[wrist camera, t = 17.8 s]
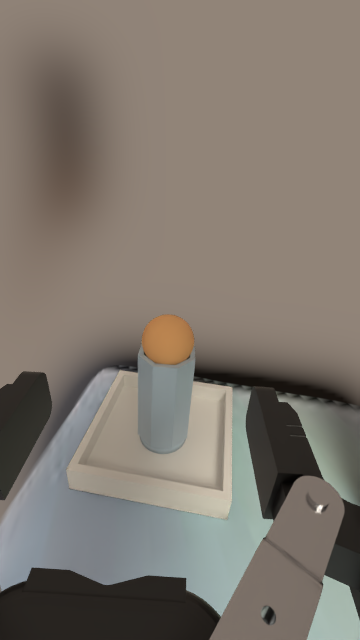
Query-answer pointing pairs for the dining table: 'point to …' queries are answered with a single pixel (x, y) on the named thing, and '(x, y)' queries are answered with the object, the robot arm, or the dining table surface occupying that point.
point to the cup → (164, 403)
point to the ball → (168, 340)
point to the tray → (159, 469)
